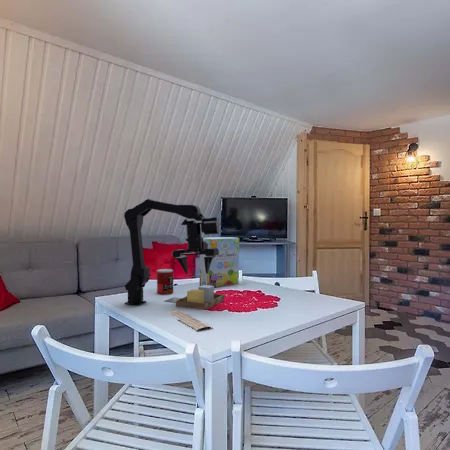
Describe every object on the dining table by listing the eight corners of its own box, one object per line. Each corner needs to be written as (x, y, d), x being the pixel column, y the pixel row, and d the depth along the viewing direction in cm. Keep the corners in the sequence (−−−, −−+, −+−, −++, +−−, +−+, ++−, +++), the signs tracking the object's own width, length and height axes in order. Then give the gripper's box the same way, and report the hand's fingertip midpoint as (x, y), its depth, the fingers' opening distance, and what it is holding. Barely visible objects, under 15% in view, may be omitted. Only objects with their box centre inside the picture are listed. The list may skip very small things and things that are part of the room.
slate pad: (180, 304, 146) (180, 302, 146) (164, 302, 149) (164, 301, 149) (189, 300, 153) (189, 298, 153) (173, 298, 156) (173, 297, 156)
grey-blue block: (209, 302, 148) (209, 288, 148) (198, 301, 150) (198, 287, 150) (213, 299, 153) (214, 285, 152) (203, 298, 154) (203, 285, 154)
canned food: (165, 295, 164) (165, 271, 163) (153, 293, 168) (153, 270, 168) (176, 292, 170) (176, 270, 170) (165, 290, 175) (165, 268, 174)
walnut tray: (206, 311, 136) (206, 304, 136) (175, 307, 141) (175, 300, 141) (224, 301, 152) (224, 294, 152) (196, 298, 158) (196, 292, 158)
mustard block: (198, 307, 139) (198, 292, 139) (187, 306, 141) (187, 291, 141) (203, 304, 143) (203, 290, 143) (192, 303, 145) (192, 289, 145)
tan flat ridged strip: (167, 316, 131) (167, 311, 131) (184, 313, 135) (185, 309, 135) (196, 333, 111) (196, 328, 111) (215, 330, 115) (216, 325, 115)
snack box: (209, 289, 179) (209, 238, 179) (198, 286, 186) (199, 237, 185) (239, 283, 194) (240, 237, 193) (228, 281, 200) (229, 236, 200)
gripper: (222, 233, 148) (225, 270, 148) (183, 235, 154) (185, 271, 154) (212, 234, 137) (214, 274, 137) (170, 237, 144) (173, 275, 144)
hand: (196, 273), depth 143 cm, fingers open, 9 cm apart
